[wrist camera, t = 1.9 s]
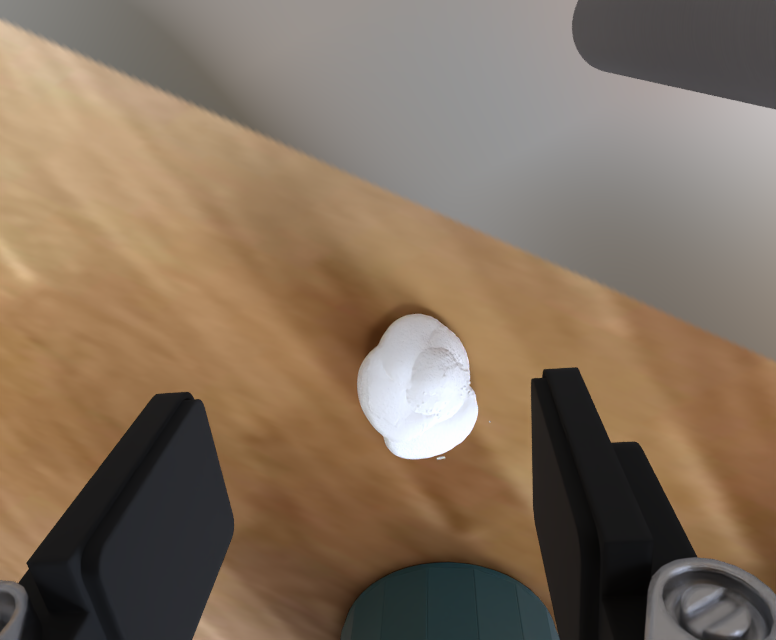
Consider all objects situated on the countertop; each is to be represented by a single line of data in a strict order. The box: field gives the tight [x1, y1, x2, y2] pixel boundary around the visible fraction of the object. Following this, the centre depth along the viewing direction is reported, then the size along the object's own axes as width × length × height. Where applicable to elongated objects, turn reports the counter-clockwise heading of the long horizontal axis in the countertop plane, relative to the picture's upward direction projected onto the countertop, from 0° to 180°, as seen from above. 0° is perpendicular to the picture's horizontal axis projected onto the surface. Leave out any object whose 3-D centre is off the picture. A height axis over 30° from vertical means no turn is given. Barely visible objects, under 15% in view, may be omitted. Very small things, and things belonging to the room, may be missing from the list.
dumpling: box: [357, 314, 491, 460], centre depth 28 cm, size 7×5×4 cm
